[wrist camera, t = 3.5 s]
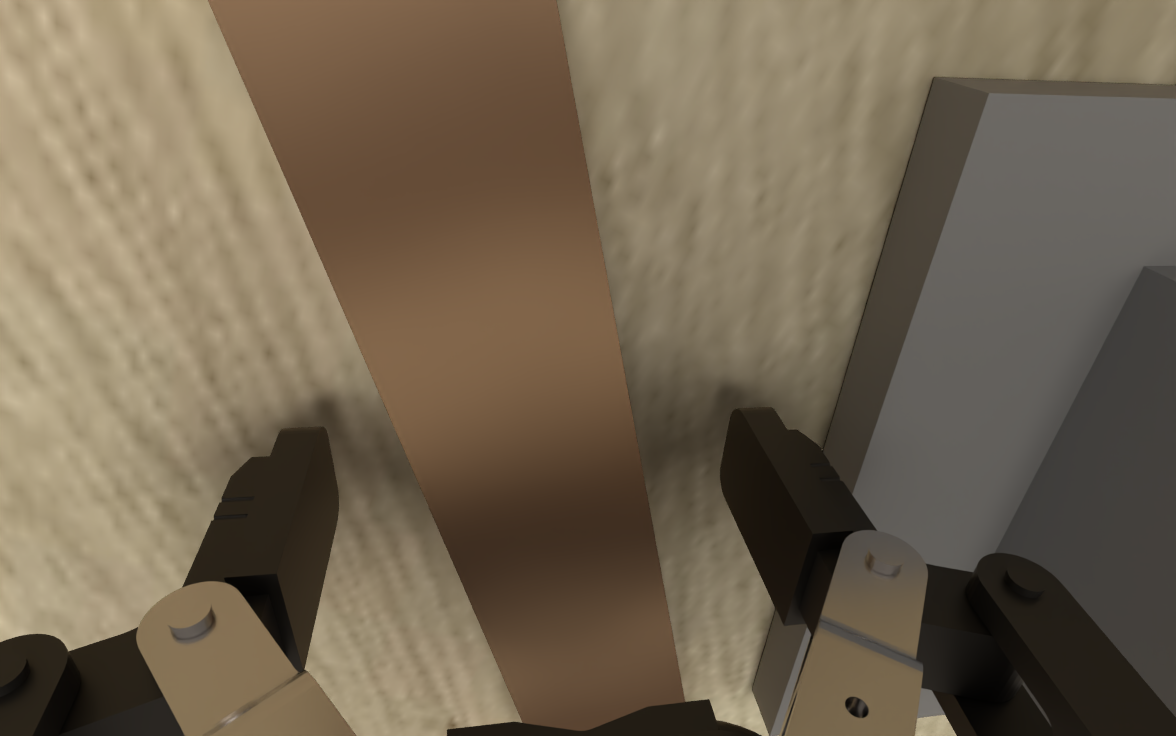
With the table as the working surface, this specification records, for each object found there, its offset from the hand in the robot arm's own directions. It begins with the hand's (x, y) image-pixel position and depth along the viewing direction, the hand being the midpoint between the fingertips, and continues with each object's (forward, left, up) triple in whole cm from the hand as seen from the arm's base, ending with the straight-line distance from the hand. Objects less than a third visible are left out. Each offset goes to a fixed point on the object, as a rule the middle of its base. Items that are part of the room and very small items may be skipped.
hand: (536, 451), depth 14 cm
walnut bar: (0, 0, -2) cm, 2 cm away
